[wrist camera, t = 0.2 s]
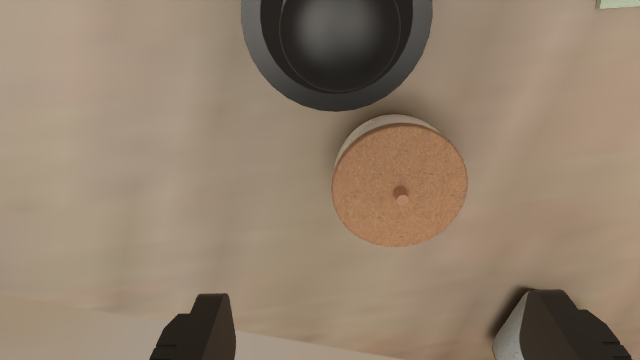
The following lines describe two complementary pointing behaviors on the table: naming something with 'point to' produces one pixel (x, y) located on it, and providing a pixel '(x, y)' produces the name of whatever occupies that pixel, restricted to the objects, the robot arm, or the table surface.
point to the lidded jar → (398, 181)
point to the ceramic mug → (510, 335)
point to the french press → (336, 47)
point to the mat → (616, 3)
